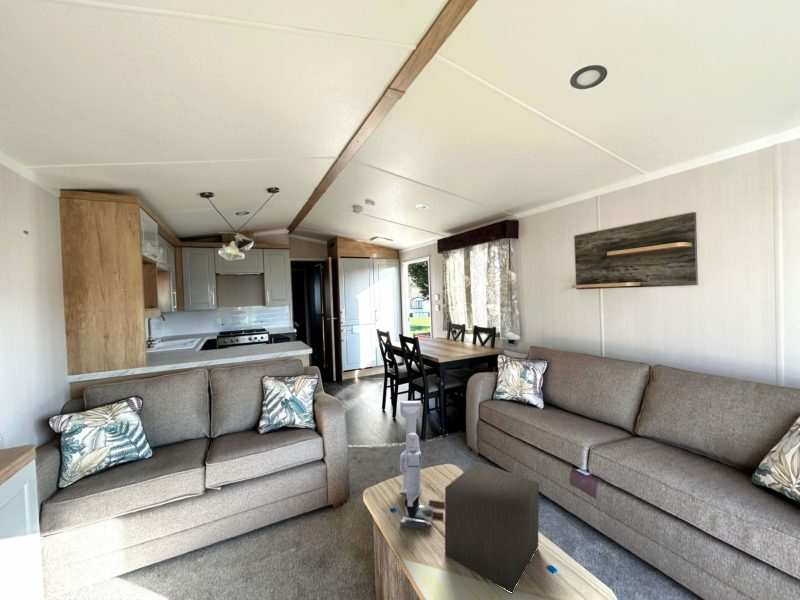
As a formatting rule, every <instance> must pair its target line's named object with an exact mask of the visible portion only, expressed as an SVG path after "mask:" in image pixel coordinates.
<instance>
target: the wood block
mask: <svg viewBox="0 0 800 600" xmlns="http://www.w3.org/2000/svg"><path fill="white" fill-rule="evenodd" d="M444 490H445V492H444V495H445V496H444V501H445V507H444V520H445V521H444V555H445V556H446V557H448V558H449V559H451V560H453V561H454V562H456V563H458V564H459V565H461V566H463V567H464V568H467V569H468V570H470V571H471V572H473V573H474V574H476V575H478V576H480V577H482V578H483V577H484V578H483V579H485V578H486V579H485V580H487V579H488V580H490V581H492V582H493V583H492V582H491V583H492V584H494V583H495V584H497V585H499V586H501V587H503V588H505V589H506V590H508V591H510V592H513V590H514V588H515V586H516V584H517V583H518V581H519V579H520V578H521V576H522V574H523V572H524V571H525V569H526V567H527V565H528V563H529V562H530V560H531V558H532V556H533V554H534V553H535V551H536V549H537V547H538V548H539V517H540V516H539V510H540V509H539V507H540V506H539V503H540V502H539V498H540V497H539V495H540V494H539V492H540V483H539V482H538V481H534V480H532V479H529V478H526V477H524V476H521V475H517V474H514V473H512V472H509V471H506V470H504V469H501V468H497V467H495V466H492V465H489V464H486V463H483V462H482V461H481V462H480V461H476V462H475V463H474V464H472V465H471V466H470V467H469V468H467V469H466V470H465V471H464V472H462V473H461V474H460V475H459V476H457V477H456V478H455V479H454V480H452V481H451V482H450V483H449V484H448V485H447V486H445V489H444ZM535 554H536V553H535ZM531 561H532V560H531ZM530 563H531V562H530ZM527 568H528V567H527ZM526 570H527V569H526ZM525 572H526V571H525ZM523 575H524V574H523ZM522 577H523V576H522ZM521 579H522V578H521ZM488 580H487V581H488ZM490 581H489V582H490ZM519 582H520V581H519ZM495 584H494V585H495ZM518 584H519V583H518ZM497 585H496V586H497ZM499 586H498V587H499ZM515 589H516V588H515ZM514 591H515V590H514ZM513 593H514V592H513Z"/></svg>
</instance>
